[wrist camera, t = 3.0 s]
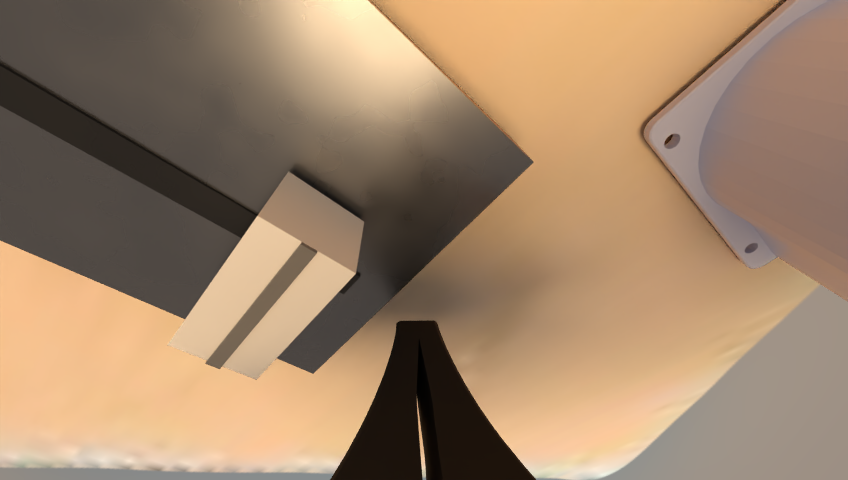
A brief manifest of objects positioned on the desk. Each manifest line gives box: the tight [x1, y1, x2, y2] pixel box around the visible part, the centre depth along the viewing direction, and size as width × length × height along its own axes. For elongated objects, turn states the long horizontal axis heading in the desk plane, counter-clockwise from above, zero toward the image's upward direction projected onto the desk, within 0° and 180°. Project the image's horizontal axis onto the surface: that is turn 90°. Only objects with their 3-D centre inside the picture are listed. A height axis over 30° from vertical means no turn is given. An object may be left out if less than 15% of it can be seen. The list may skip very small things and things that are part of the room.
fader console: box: [0, 0, 533, 373], centre depth 10 cm, size 18×12×2 cm, turn 49°
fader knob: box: [168, 171, 364, 380], centre depth 10 cm, size 2×5×3 cm, turn 139°
